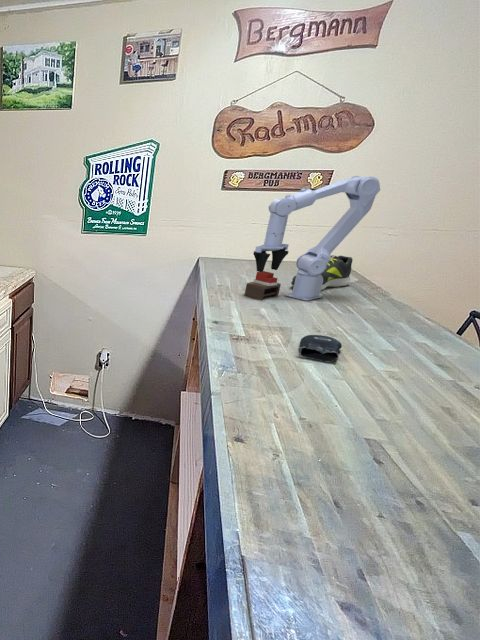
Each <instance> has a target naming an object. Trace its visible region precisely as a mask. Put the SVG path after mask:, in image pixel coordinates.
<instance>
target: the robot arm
mask: <svg viewBox="0 0 480 640" xmlns="http://www.w3.org/2000/svg"><path fill="white" fill-rule="evenodd" d="M379 192H381V183H380V180H379V179H378V177H375V176H359V175H353V176H351V177H346V178H343V179H340V180H337V181H335V182H332V183H331V184H328V185H324V186H323V187H320V188H316V189H314V190H312V189H310V188H307V189H306V188H302V189H301V188H300V190H299V191H298V192H296V193H295V192H294V193H292V194H286V195H285V197H277V198H275V199H273V200H272V201H271V203H270V205H268V211H269V213H270V215H269V219H268V223H267V226H266V227H267V228H266V232H265V238H264V242H263V244H262V245H257V246H255V250H254V251H253V253H252V254H253V256H254V259H255V265H256V267H255V268H256V272H263V271H265V267H266V263H267V261H268V259H269V257H270V256H271V265H270V270H274V271H278V270H279V267H280V266H281V264H282V262H283V261H284V259H285V257H286V256H287V255H288V254H289V250H288V249H289V245H290V244H288V243H284V242H283V241H284V237H285V232H286V228H287V224H288V220H289V215H291V214H292V212H295V211H299V210H301V209H305V208H307V207H310V206H312V205H314V203H315V202H316V201H317V200H320V199H323V198H327V197H330V196H334V195H338V194H340V193H344V194H345V195H346V197H347V199H348V202H349V206H350V207H349V208H348V209H347V211H345V212H344V214H343V215H342V216H341V217H340V218H339V219H338V221H337V222H336V223H334V225H333V226H332V227H331V229H330V230H329V231H328V232H327V233H326V234H325V235H324V237H323V238H322V239H320V241H319V242H318V243H317V244H316V245H315V246H312V247H311V248H309V249H308V250H307V251H306V252H305V253H302V254H301V255H300V256H299V257H298V258H297V259H296V261H295V266H296V268H297V272H296V275H295V276H296V279H295V283H294V285H293V287H292V291H291V293H288V294H286V295H285V296H286V297H290V298H294V299H296V300H297V299H298V300H302V301H307V302H308V301H312V300H316V299H321V298H322V296H321V295H320V294H321V291H322V290H321V287H322V284H323V277H322V275H320V274H321V273H322V272H323V271H324V270H325V269H326V266H327V264H328V262H329V261H330V260H331V256H332V253H333V252H334V250H336V249H337V247H338V246H339V245H341V243H342V242H343V241H344V240H345V239H346V237H347V236H348V235H349V234H350V233H351V232H352V231H353V230H354V228H355V227H356V226H357V225H358V224H359V223H360V222H361V221H362V220H363V219H364V217H365V216H366V215H367V214H368V213H369V212H370V211H371V210H372V207H373V204H374V201H375V199H376V197H377V195H378V194H379ZM268 252H271V253H268Z"/></svg>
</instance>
